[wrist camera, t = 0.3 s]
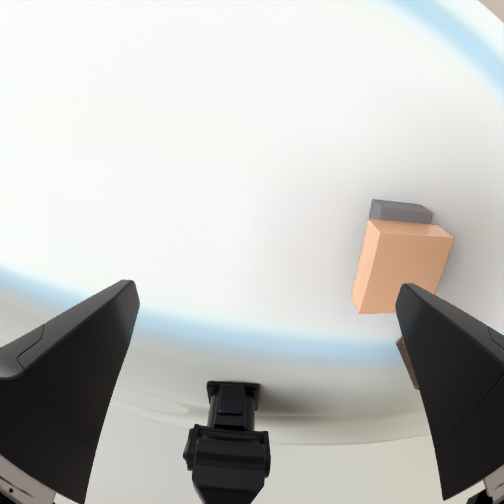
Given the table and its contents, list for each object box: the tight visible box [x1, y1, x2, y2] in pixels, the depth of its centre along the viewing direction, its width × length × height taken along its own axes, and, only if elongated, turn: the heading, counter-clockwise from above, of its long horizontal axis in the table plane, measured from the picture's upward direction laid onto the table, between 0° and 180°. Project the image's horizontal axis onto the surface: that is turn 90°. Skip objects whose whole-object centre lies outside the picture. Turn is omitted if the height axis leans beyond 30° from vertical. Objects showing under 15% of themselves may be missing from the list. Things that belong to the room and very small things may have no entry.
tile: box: [351, 219, 454, 314], centre depth 20 cm, size 7×7×2 cm
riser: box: [369, 199, 432, 224], centre depth 22 cm, size 9×5×2 cm, turn 179°
